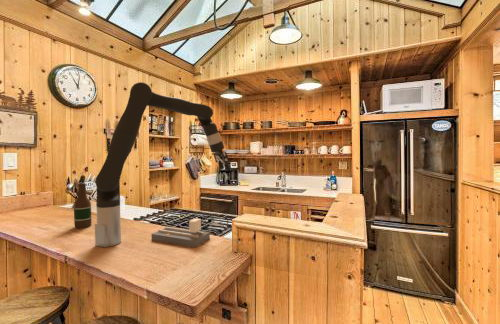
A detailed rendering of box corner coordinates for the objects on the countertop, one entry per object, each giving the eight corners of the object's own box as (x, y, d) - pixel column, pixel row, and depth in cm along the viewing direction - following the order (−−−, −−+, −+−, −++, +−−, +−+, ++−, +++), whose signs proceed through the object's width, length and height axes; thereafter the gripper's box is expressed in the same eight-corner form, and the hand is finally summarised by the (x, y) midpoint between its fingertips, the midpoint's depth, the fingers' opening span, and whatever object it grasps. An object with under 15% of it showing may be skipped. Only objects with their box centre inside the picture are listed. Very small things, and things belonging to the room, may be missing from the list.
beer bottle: (83, 229, 130) (81, 184, 128) (70, 228, 131) (69, 184, 130) (95, 225, 137) (93, 182, 136) (83, 224, 139) (82, 182, 138)
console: (195, 247, 105) (195, 238, 105) (151, 240, 114) (151, 231, 114) (209, 238, 117) (209, 230, 116) (169, 232, 125) (168, 224, 125)
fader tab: (194, 236, 109) (194, 221, 109) (189, 235, 111) (189, 221, 110) (201, 233, 114) (200, 218, 114) (195, 232, 115) (195, 218, 115)
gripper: (204, 144, 137) (214, 171, 141) (213, 144, 125) (224, 173, 128) (216, 140, 140) (226, 166, 144) (226, 139, 128) (236, 167, 131)
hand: (225, 169), depth 136 cm, fingers open, 8 cm apart
